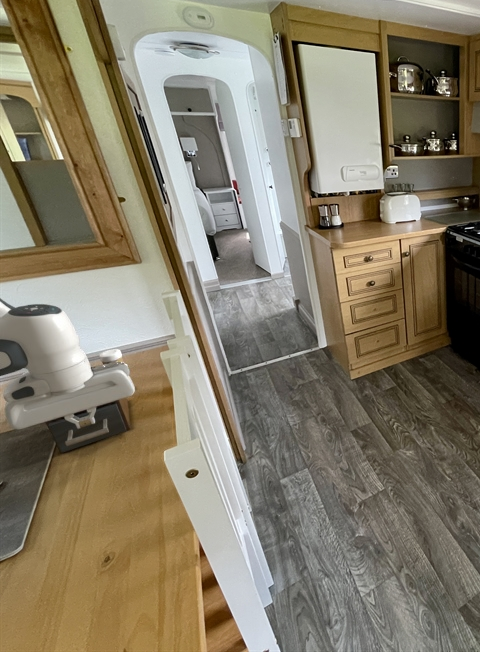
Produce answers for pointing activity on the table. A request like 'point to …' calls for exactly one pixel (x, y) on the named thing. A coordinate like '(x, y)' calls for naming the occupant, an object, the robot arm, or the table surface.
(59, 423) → the drawer
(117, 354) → the sprinkles bottle
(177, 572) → the table surface
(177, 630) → the table surface
